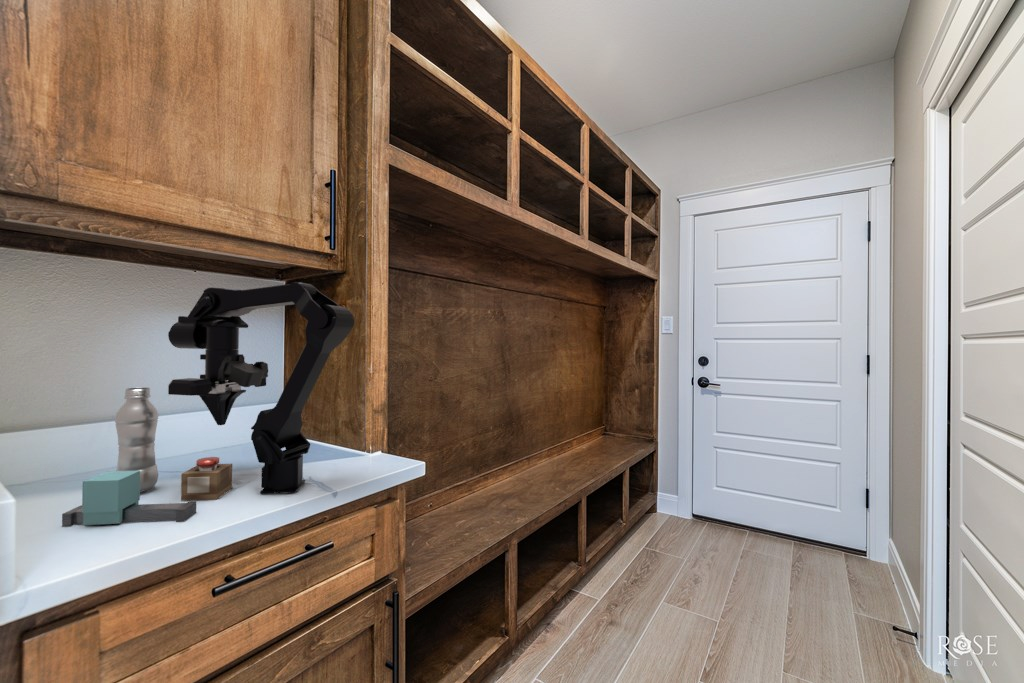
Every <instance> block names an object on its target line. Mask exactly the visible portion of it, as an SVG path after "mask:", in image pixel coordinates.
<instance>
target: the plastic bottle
mask: <svg viewBox="0 0 1024 683" xmlns="http://www.w3.org/2000/svg"><path fill="white" fill-rule="evenodd" d="M123 398H124V399H125V402H124V404H122V406H120V408H119V409H118V410H117V411H116V413H115V417H114V422H115V429H116V434H117V442H118V443H117V445H118V455H117V466H116V470H115V471H140V493H141V492H144V491H148V490H151V489H152V488H154V487H155V485H156V484H157V483H158V479H159V470H158V469H159V468H158V465H157V462H156V452H155V450H156V449H155V446H156V445H155V444H156V443H155V441H156V432H157V427H158V419H159V412H158V410H157V408H156V407H155V405H154V404H153V403H152V402H151V401H150V399H149V398H151V387H146V386H145V387H143V386H142V387H130V388H129V387H128V388H125V392H124V397H123Z"/></svg>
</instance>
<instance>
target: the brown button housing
mask: <svg viewBox="0 0 1024 683" xmlns="http://www.w3.org/2000/svg"><path fill="white" fill-rule="evenodd" d="M180 477H181V478H180V482H181V483H180V501H181V502H182V501H183V502H186V501H187V502H191V501H214V500H215V501H217V500H218V499H220V498H221V497H222V496H224V495H225V494H227V493H228V492H229V491H231V490H233V463H218V464H217V469H215V470H214V471H199V466H197V465H195V466H194V467H191V468H190V469H188V470H186V471H184V472H181V476H180ZM226 492H227V493H226ZM219 497H220V498H219Z"/></svg>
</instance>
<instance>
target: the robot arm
mask: <svg viewBox="0 0 1024 683" xmlns="http://www.w3.org/2000/svg"><path fill="white" fill-rule="evenodd" d="M292 305H295V306H296V308H297V311H298V313H299V314H300V315H301V316H302V317H303V318H304V319H305V320H306V322H307V323H306V325H305V329H304V331H305V345H304V347H303V350H302V351H301V353H300V355H299V357H298V359H297V362H296V363H295V366H294V368H293V369H292V372H291V373H290V375H289V378H288V380H287V381H286V384H285V387H284V388H283V390H282V392H281V394H280V396H279V399H278V400H277V402H276V404H275V406H274V407H272V408H269V409H264V410H261V411H260V412H259V413H258V415H257V418H256V421H255V422H254V424H253V425H252V426H251V427H250V429H251V430H252V433H251V436H250V440H251V441H252V444H253V448H254V451H255V454H256V458H257V460H258V463H261V464H264V465H263V466H262V467H261V489H260V495H267V494H293V493H297V492H298V491H299V490H300V488H302V486H304V484H305V483H306V480H305V479H304V478H303V474H304V472H303V470H304V469H303V466H304V461H303V460H304V456H303V455H305V454H308V453H309V450H310V447H311V443H310V441H308V439H307V438H306V436H304V435H303V433H302V432H301V429H302V426H303V419H302V412H303V410H304V409H305V408H304V407H305V405H306V404H307V402H308V400H309V397H310V395H311V393H312V392H313V390H314V388H315V385H316V383H317V381H318V379H319V377H320V375H321V373H322V370H323V369H324V367H325V365H326V363H327V360H328V359H329V357H330V355H331V353H332V352H333V350H335V349H336V348H337V347H338V346H339V345H340V344H342V343H343V341H345V339H346V338H347V337H348V335H349V334H350V333H351V331H352V330H353V328H354V326H355V318H354V315H353V313H352V312H351V310H350V309H348V308H346V307H344V306H340V305H339V304H338V303H337V302H336V301H334V300H333V299H331V298H330V297H328V296H327V295H325V294H324V293H322V292H321V291H320V290H319V289H317V287H315V286H314V285H313V284H310V283H305V282H299V281H294V282H292V283H287V284H278V285H271V286H264V287H256V288H249V289H236V288H235V289H234V288H224V287H207V288H205V289H204V290H203V292H202V294H201V295H200V297H199V299H198V300H197V301H196V303H195V305H194V306H193V308H192V309H191V311H189V312H190V313H189V314H188V315H187V316H186V315H185V316H183V315H179V316H177V320H178V321H177V322H175V323H173V324H172V325H171V327H170V329H169V331H168V333H167V335H168V336H167V337H168V340H169V342H170V344H171V345H172V346H173V347H175V348H177V349H188V350H189V349H193V350H202V349H203V350H204V349H205V352H204V353H202V354H199V360H203V361H205V362H204V364H205V365H204V367H205V368H204V369H205V370H204V374H199V378H194V377H192V378H191V377H189V378H188V377H187V378H176V379H175V378H173V379H172V380H171V381H170V382H169V384H168V386H167V387H168V388H167V391H168V393H167V394H168V395H169V396H170V395H174V396H199V397H200V399H201V400H202V401H203V403H204V405H205V406H206V408H207V410H208V411H209V412H210V415H211V416H212V418H213V419H214V421H215V423H216V425H217V426H223V425H226V423H227V420H228V417H229V415H230V414H231V410H232V407H233V405H234V403H235V402H236V399H237V398H238V397H240V396H241V395H242V394H243V393H246V392H247V389H242V387H243V388H250V387H251V386H252V387H253V386H254V387H255V388H261V387H266V386H267V378H268V377H269V364H268V363H267V362H265V361H255V363H248V362H245V361H246V360H245V356H244V354H239V348H240V347H239V345H240V344H239V342H240V340H239V339H240V338H239V337H240V336H239V335H240V328H241V329H248V328H249V324H248V323H247V322H245V320H243V319H242V318H241V316H245V315H247V314H249V313H251V312H252V311H255V310H258V309H265V308H275V307H281V306H282V307H283V306H292ZM282 449H283V450H282Z"/></svg>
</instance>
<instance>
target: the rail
mask: <svg viewBox="0 0 1024 683" xmlns="http://www.w3.org/2000/svg"><path fill="white" fill-rule="evenodd" d="M196 513H197V500H191V501H187V502H173V503H149V504H148V503H147V504H142V503H141V504H139V505H130V506H128V507H126V508H124V509H122V522H121V524H123V523H124V524H126V523H144V522H145V523H146V522H147V523H148V522H171V521H174V522H176V523H183V522H185V521H187V520H188V519H190V518H191V517H192V516H194V515H195V514H196ZM61 518H62V520H61V527H62V528H63V527H72V526H74V525H79V526H80V525H83V513H82V504H81V505H79V506H77V507H75V508H72V509H70V510H68V511H66V512H63V513H62V514H61Z"/></svg>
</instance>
